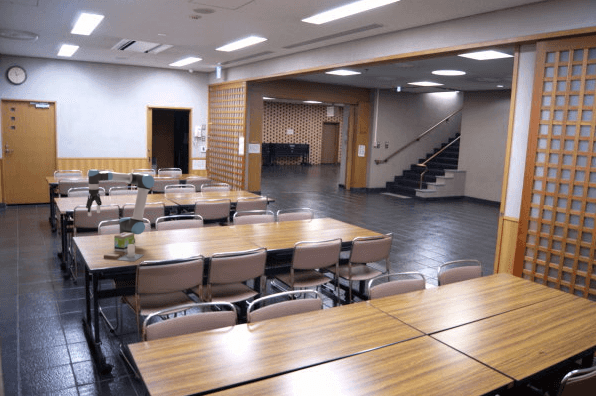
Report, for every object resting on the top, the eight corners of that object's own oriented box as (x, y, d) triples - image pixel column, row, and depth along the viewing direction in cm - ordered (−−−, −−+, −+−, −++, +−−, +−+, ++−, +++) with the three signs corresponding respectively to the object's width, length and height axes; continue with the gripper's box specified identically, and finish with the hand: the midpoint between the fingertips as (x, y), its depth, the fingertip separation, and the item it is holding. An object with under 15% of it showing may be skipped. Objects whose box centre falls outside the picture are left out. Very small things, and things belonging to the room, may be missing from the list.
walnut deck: (112, 253, 384) (112, 250, 384) (124, 254, 383) (124, 251, 383) (103, 258, 370) (103, 255, 370) (116, 259, 369) (116, 256, 369)
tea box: (124, 253, 385) (124, 236, 383) (113, 252, 387) (113, 235, 385) (134, 249, 400) (134, 232, 398) (124, 248, 402) (123, 231, 400)
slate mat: (127, 254, 385) (127, 253, 385) (143, 255, 384) (143, 254, 384) (117, 260, 367) (117, 259, 367) (134, 261, 366) (134, 260, 366)
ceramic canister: (129, 255, 379) (129, 243, 377) (135, 256, 378) (136, 244, 376) (125, 257, 373) (126, 245, 372) (132, 258, 372) (132, 245, 371)
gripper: (97, 186, 387) (97, 211, 390) (80, 190, 362) (81, 217, 365) (105, 187, 386) (106, 212, 389) (89, 191, 362) (90, 217, 365)
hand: (94, 214), depth 377 cm, fingers open, 13 cm apart
